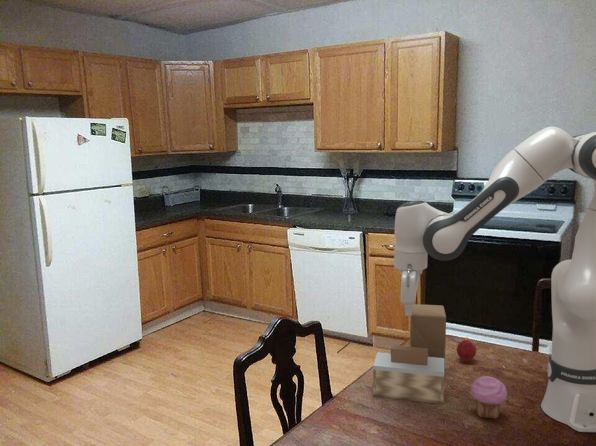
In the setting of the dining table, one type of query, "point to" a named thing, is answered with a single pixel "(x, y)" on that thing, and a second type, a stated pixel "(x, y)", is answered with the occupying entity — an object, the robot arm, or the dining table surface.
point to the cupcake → (488, 396)
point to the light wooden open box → (408, 386)
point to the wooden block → (429, 329)
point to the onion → (466, 350)
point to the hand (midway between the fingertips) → (409, 309)
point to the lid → (409, 361)
